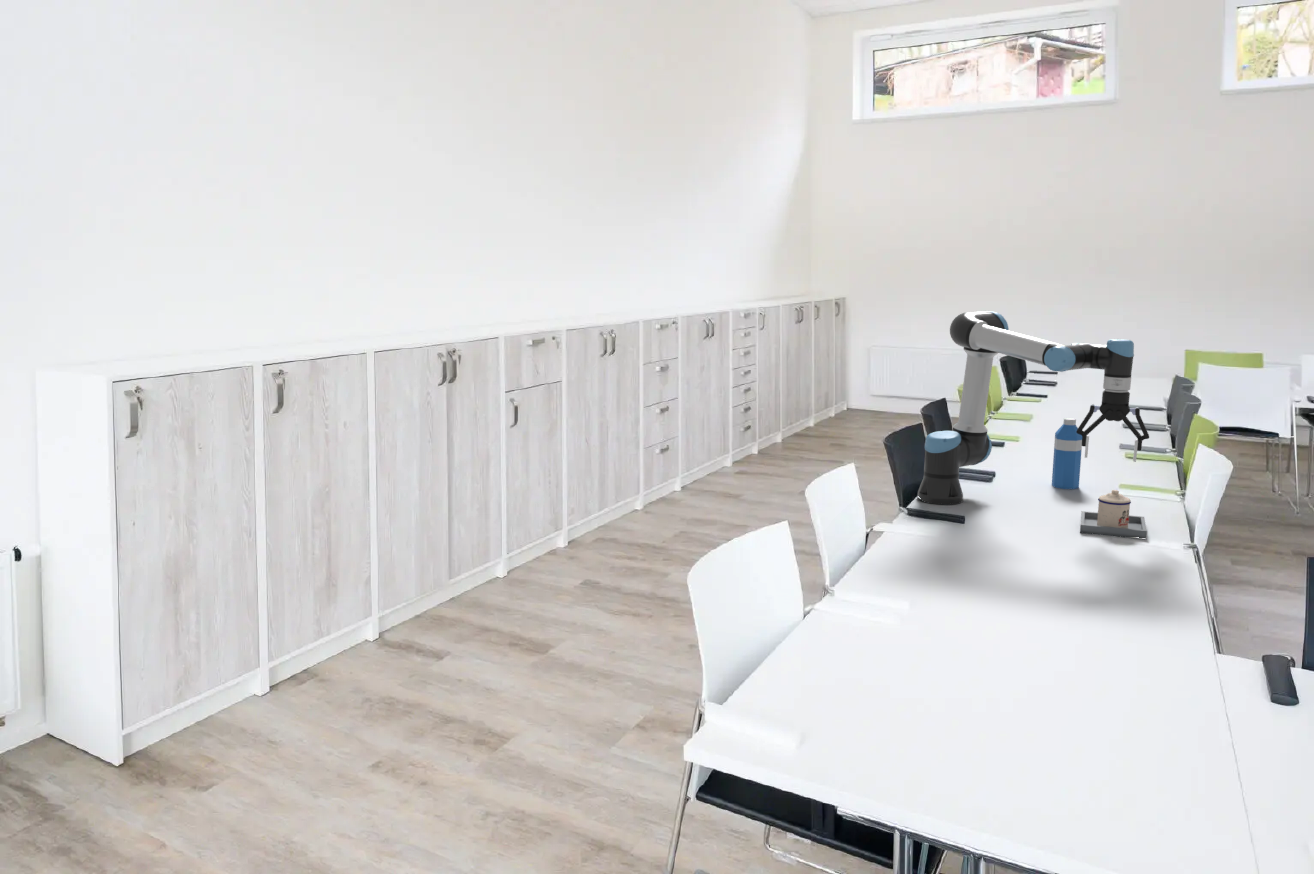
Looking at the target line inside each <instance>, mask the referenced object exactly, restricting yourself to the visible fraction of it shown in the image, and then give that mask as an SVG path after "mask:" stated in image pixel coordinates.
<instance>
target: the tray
mask: <svg viewBox="0 0 1314 874" xmlns="http://www.w3.org/2000/svg"><path fill="white" fill-rule="evenodd" d="M1097 519H1098V511H1097V512H1095V511H1093V512H1092V511H1084V510H1083V511H1082V510H1081V513H1080V525H1079V526H1080V528H1079V533H1080V534H1086V535H1087V534H1088V535H1094V536H1095V535H1096V536H1104V537H1105V536H1106V537H1117V538H1125V537H1139V538H1146V539H1147V533H1148V530H1147V525H1146V520H1145V516H1138V515H1130V514H1129V521H1128V528H1118V527H1107V526H1097ZM1120 536H1121V537H1120Z"/></svg>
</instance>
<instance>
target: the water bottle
mask: <svg viewBox="0 0 1314 874" xmlns="http://www.w3.org/2000/svg"><path fill="white" fill-rule="evenodd" d="M1076 423H1077V419H1076V418H1073V417H1069V418H1067V417H1066V418H1065V417H1064V418H1063V423H1062V424H1061V426H1060V427H1059V428H1058V429H1057V430H1056V431H1055V433H1054V442H1053V443H1054V444H1053V445H1054V446H1053V458H1052V459H1053V461H1052V462H1053V463H1052V476H1051V486H1052V487H1053V488H1056V489H1061V490H1076V489H1079V487H1080V477H1081V476H1080V475H1081V466H1082V465H1081V464H1082V461H1081V460H1082V449H1083V446H1082V435H1080V434H1077V433H1076V431H1077V429H1078V426H1077V425H1076Z"/></svg>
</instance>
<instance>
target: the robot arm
mask: <svg viewBox="0 0 1314 874" xmlns="http://www.w3.org/2000/svg"><path fill="white" fill-rule="evenodd" d="M949 334H950V338H951V339H952V341H953V343H955V344H956V345H957V346H959V347H962V348H963V351H964V352H965V353H966V360H965V369H964V376H963V385H962V391H961V399H960V406H959V415H958V421H957V422H956V423H954V424H953V426H952V430H942V431H941V430H938V431H934V432H930V433H929V434H927V436H926V437H925V441H924V442H925V443H924V446H923V447H924V460H923V461H924V462H923V463H924V464H923V477H922V478H923V479H922V481H921V483H920V485H919V488H918V490H917V497H918V496H919V497H920V498H921V500H923V501H925V502H924V503H926V502H929V503H928V504H933V505H945V504H948V505H957V504H961V503H963V501H964V492H963V490H962V486H961V483H960V468H961V467H968V466H975V465H979V464H981V463H982V462H984V461H986V460H987V459H988V458H989V457H990V455H991V452H992V448H993V445H992V440H991V439H990V436H989V434H988V432H989V431H988V428H987V427H986V426H985V418H986V413H987V412H986V411H987V403H988V397H989V390H990V383H991V377H992V370H993V362H994V358H995V356H997V355H998V354H1001V355H1005V356H1009V357H1013V358H1017V359H1019V360H1023V361H1027V362H1031V363H1034V364H1038V365H1041V366H1044V367H1047V368H1048V369H1049V370H1050V371H1052V372H1061V373H1063V372H1067V371H1073V370H1082V369H1083V370H1084V369H1092V370H1093V369H1094V370H1104V374H1103V383H1102V384H1103V385H1102V388H1103V389H1104V390H1103V391H1102V395H1101V404H1100V406H1099V405H1095V404H1094V403H1093V404H1092V403H1091V404H1090V406H1089V411H1088V413H1087V414H1086V415H1085V417H1084V418H1083V420H1082V422H1081V423H1080V425H1079V426H1077V428H1078V429H1077V431H1076V433H1077V434H1080V435H1082V447H1084V448H1085V450H1084V458H1085V459H1088V454H1089V453H1088V452H1089V442H1090V441H1089V440H1090V435H1089V434H1090V433H1091V432H1092V431H1094V430H1095V428H1096V427H1098V426H1099V425H1100V424H1101V423H1102V422H1103V421H1104V420H1107V421H1108V422H1113V421H1114V422H1121V421H1123V423H1124V424H1125V425H1126V426H1127V427H1128V429H1129V431H1131V432H1132V434H1133V435H1134V436H1135V437H1136V439H1134V446H1133V447H1134V448H1133V457H1132V461H1133V463H1136V462H1137V455H1138V452H1140V451H1141V450H1142V447H1143V441H1144V440H1148V439H1150V434H1149V432H1148V430H1147V428H1146V425H1145V423H1144V421H1143V418H1142V416H1141V413H1140V412H1141V411H1140V410H1141V409H1140V407H1139V406H1136V407H1130V406H1129V405H1130V395H1131V393H1130V392H1129V391H1130V390H1131V384H1132V372H1133V371H1132V370H1133V363H1134V356H1135V354H1134V353H1135V350H1134V349H1135V344H1134V341H1133V340H1131V339H1121V338H1120V339H1119V338H1117V339H1116V338H1111V339H1108V340H1107V341H1106V344H1095V343H1087V342H1073V343H1071V344H1068V345H1066V344H1061V343H1058V342H1053V341H1051V340H1050V341H1049V340H1046V339H1043V338H1038V337H1035V336H1030V335H1026V334H1023V333H1019V332H1015V331H1011V330H1010V329H1009V324H1008V321H1007V320H1006V318H1005V317H1004V316H1003V315H1002V314H1001V313H999V312H996V311H990V310H983V311H982V310H981V311H967V312H963V313H962V312H961V313H959V314H958V315H957V316H956V317H955V318H953V320H952V321H951V323H950V325H949ZM1097 411H1099V412H1100V413H1101V415H1100V416H1099V417H1097V419H1096V420H1095V421H1094V422H1092V424H1090V425H1089V426H1088V427H1087V428H1086V429H1085V430H1084V428H1085V427H1086V425H1087V424H1088V422H1089V420H1090V419H1091V417H1092V416H1093V415H1094V413H1096V412H1097ZM1129 413H1132V415H1133V416H1135V418H1136V420H1137V423H1138V425H1139V427H1140V430H1141V431H1142V433H1143V434H1141V433H1140V432H1139V431H1138V430H1137V428H1136V427H1135V426H1134V425H1133V423H1132V422H1131V420H1129V418H1128V417H1127V416H1128V415H1129ZM923 501H922V502H923Z"/></svg>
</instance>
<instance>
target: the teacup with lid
mask: <svg viewBox="0 0 1314 874" xmlns="http://www.w3.org/2000/svg"><path fill="white" fill-rule="evenodd" d="M1119 492H1120V491H1119V490H1118V489H1111V492H1107V494H1103V495H1100V496H1099V497H1098V499H1097V500H1098V507H1097V508H1098V510H1097V513H1098V519H1097V526H1107V527H1118V528H1128V521H1129V515H1130V508H1131V504H1132V501H1131V499H1130V497H1126V496H1125V495H1123V494H1121V493H1119Z"/></svg>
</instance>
